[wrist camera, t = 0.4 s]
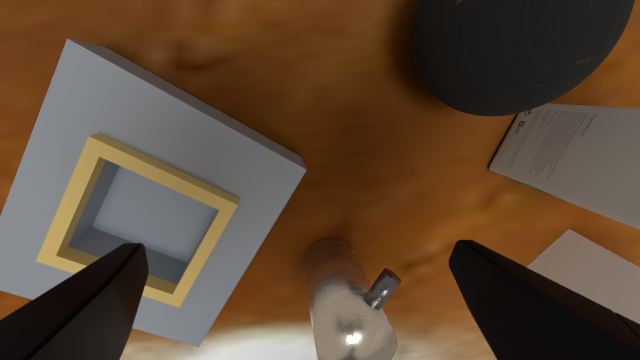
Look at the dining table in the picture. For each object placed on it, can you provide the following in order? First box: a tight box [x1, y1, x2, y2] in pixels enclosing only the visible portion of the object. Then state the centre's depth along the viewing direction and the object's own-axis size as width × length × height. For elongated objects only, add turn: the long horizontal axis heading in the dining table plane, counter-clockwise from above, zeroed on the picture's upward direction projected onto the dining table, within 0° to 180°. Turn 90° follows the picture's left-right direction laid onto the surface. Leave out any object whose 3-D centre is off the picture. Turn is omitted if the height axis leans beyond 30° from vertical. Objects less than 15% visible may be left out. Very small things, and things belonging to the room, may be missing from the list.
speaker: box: [411, 0, 635, 116], centre depth 16 cm, size 10×10×10 cm
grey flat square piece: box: [0, 39, 307, 347], centre depth 19 cm, size 16×14×4 cm
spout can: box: [302, 238, 401, 360], centre depth 21 cm, size 7×5×9 cm
